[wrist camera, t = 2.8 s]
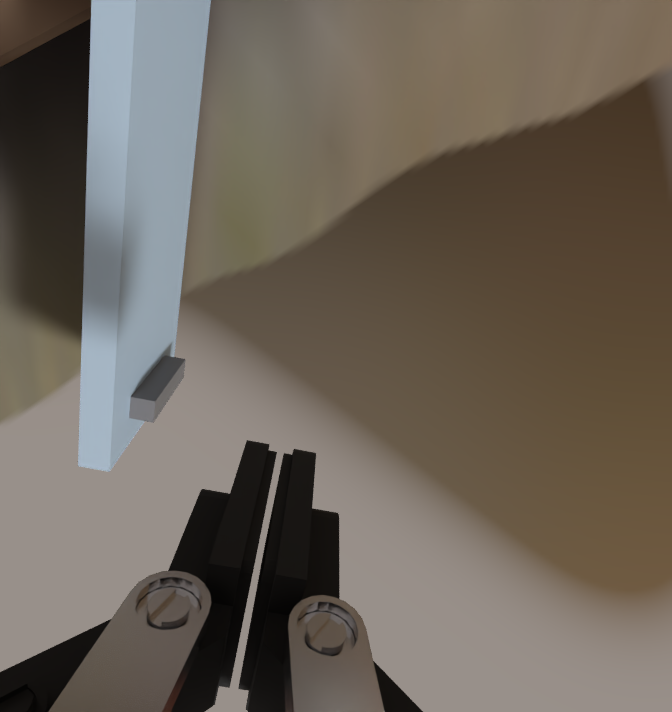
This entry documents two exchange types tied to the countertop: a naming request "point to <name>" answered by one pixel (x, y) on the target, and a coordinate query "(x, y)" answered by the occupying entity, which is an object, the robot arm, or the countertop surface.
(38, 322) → the countertop surface
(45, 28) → the walnut cabinet
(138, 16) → the cabinet door
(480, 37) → the countertop surface
